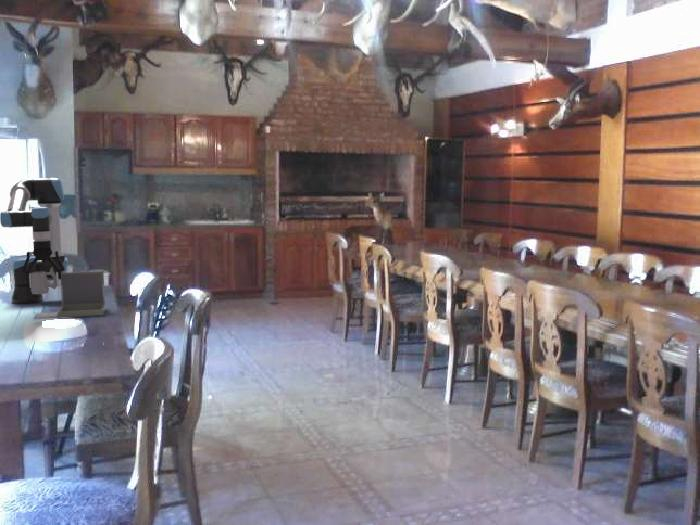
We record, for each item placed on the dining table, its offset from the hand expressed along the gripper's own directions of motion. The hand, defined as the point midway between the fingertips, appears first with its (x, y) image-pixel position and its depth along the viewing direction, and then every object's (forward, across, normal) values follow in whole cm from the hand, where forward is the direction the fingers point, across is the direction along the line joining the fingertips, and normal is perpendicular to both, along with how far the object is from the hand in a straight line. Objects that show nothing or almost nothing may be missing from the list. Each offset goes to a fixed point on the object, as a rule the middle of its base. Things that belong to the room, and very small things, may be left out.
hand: (44, 286), depth 350 cm
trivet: (+14, 0, 0) cm, 14 cm away
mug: (+3, 0, 0) cm, 3 cm away
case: (+14, +16, +1) cm, 21 cm away
